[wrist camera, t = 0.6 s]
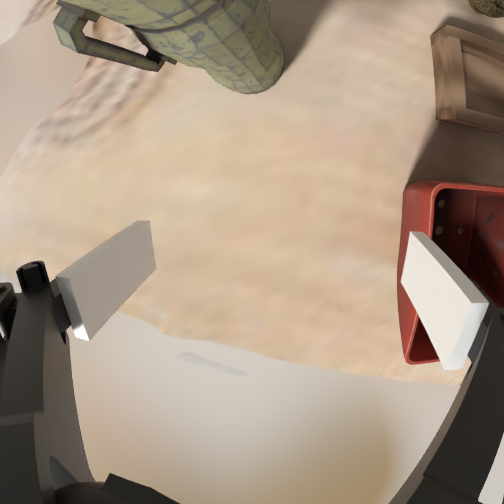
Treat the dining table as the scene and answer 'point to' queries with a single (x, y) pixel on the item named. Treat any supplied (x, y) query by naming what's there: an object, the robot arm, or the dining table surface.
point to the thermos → (184, 37)
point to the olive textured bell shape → (488, 7)
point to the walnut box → (468, 79)
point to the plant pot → (452, 246)
